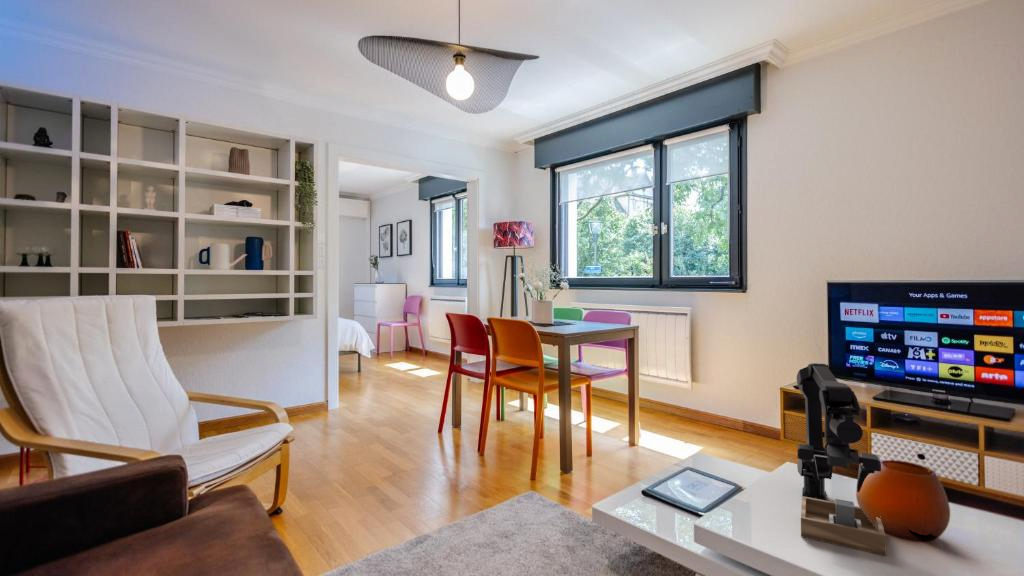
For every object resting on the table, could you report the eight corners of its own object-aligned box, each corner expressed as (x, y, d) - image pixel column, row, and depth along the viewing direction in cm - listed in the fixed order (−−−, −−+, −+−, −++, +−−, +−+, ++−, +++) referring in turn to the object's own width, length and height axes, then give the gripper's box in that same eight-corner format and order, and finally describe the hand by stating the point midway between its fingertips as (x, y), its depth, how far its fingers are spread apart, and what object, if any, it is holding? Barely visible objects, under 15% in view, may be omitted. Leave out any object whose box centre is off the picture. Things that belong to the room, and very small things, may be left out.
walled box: (802, 513, 141) (802, 496, 141) (878, 528, 132) (878, 510, 132) (801, 536, 128) (800, 517, 128) (886, 556, 118) (885, 535, 118)
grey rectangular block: (835, 528, 130) (835, 498, 130) (854, 531, 128) (853, 502, 128) (836, 534, 127) (835, 504, 127) (855, 538, 125) (854, 507, 125)
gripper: (796, 434, 129) (797, 491, 130) (883, 445, 119) (883, 508, 120) (797, 423, 139) (798, 477, 139) (878, 433, 129) (878, 491, 129)
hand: (837, 487), depth 131 cm, fingers open, 9 cm apart
